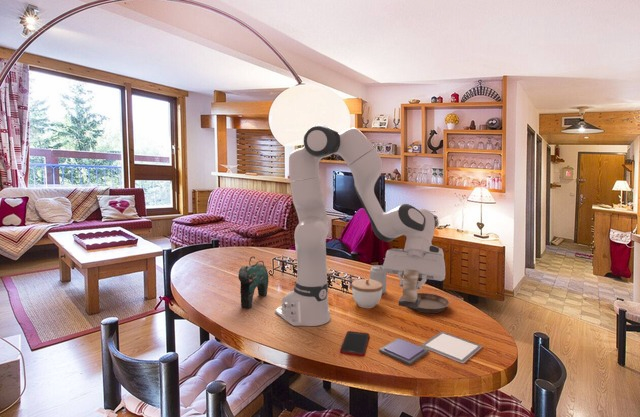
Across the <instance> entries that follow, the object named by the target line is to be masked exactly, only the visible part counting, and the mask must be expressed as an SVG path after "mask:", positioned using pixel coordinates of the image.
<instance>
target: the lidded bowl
mask: <svg viewBox="0 0 640 417" xmlns="http://www.w3.org/2000/svg"><path fill="white" fill-rule="evenodd" d="M351 287H352V288H351V293H352V297H353V298H352V299H353V300H354V302H355V303H356V304H357V306H359V307H360V308H363V309H372V308H375V307H376V305H377V304H379V302H380V301H381V298H382V295H383V294H382V288H383V285H382V283H380V282H378V281H375V280H370V278H362V279H356V280H353V281H352V283H351Z"/></svg>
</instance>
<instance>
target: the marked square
mask: <svg viewBox="0 0 640 417" xmlns="http://www.w3.org/2000/svg"><path fill="white" fill-rule="evenodd" d="M420 347H423V348H425V349H428V350H429V351H430V352H432V353H433V352H434V353H436V354H438V355H440V356H444V357H445V358H448V359H450V360H452V361H455V362H457V363H461V364H465V363H466V362H467V361H468V360H470V358H471V357H472V356H474V355H475V354H476V353H478V352H479V351H480V350H481V349H482V348H483V345H482V344H481V345H480V344H477V343H476V342H472V341H469V340H468V339H464V338H461V337H458V336H456V335H453V334H449V333H448V332H444V331H440V332H438V333H437V334H436V335H434V336H432V337H430V338H429V339H428V340H427V341H425V342H423V343H422V344H421V345H420Z"/></svg>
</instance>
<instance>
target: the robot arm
mask: <svg viewBox="0 0 640 417" xmlns="http://www.w3.org/2000/svg"><path fill="white" fill-rule="evenodd" d="M302 141H303V147H302V148H301V147H300V148H297V149H295V150H293V151H292V152H290V154H289V157H288V175H289V178H288V179H289V184H290V190H291V191H290V192H291V196H292V203H293V206H294V208H295V211H296V215H297V218H298V223H297V225H296V227H295V230H294V233H293V234H294V245H295V254H296V255H295V256H296V262H297V263H296V264H297V269H296V273H297V274H296V281H292V286H294V287H293V289H292V290H291V291H290V292H288V293H287V294H285V295H284V296H283V297H282V300H281V305H280V306H278V307H277V308H276V309H275V310H274V312H275V313H276V315H278V316H279V317H280V318H282V319H283V320H285V321H286V322H287V323H289V324H290V325H291V326H294V327H298V326H299V327H300V326H303V327H304V326H306V327H317V326H323V325H325V324H326V323H328V322H330V321H331V315H330V313H331V312H330V308H329V298H328V292H329V288H328V287H329V284H328V279H327V278H328V276H327V274H328V261H327V248H326V247H327V243H326V242H327V236H328V235H329V232H330V225H329V221H328V220H329V219H328V215H327V209H326V205H325V201H324V195H323V189H322V182H321V181H322V180H321V175H320V174H321V173H320V168H319V167H320V161H322V160H325V159H326V158H327V159H328V158H329V157H331V156H333V155H334V154H336V155H338V156H340V157H341V158H342V159H343V161H344V162H345V165H347V167H348V168H349V170H350V172H351V175H352V176H353V181H354V183H353V186H354V190H355V192H356V195H357V197H358V199H359V201H360V203H361V205H362V207H363V209H364V211H365V213H366V216H367V217H368V219H369V221H370V224H371V228H372V232H374V235H375V236H376V237H377V238H378V239H379V240H381V241H383V242H384V243H385V242H387V243H389V242H392V241H394V240H395V239H397V238H399V237H401V236H405V237H406V240H405V243H404V244H405V245H404V248H394V247H393V248H390V249H388V250H386V252H385V259H384V262H383V264H382V266H383V269H384V271H385V272H386V273H387V274H392V275H397V276H398V279H399V287H401V288H403V279H404V270H407V269H409V270H416V271H418V272H419V275H418V279H419V278H420V279H421V280H420V281H418V282H417V285H416V289H418V290H422V287H423V285H424V284H425V283H426V282H427V280H433V281H439V282H442V281H444V280H445V279H446V263H445V258H444V257H445V254H444V251H443V248H442V247H441V248H440V247H438V246H436V245H435V244H432V240H433V238H434V235H435V226H436V221H435V217H434V214H433V213H432V212H431V211H430V210H428V209H425V208H416V207H415V206H413V205H411V204H408V203H402V204H400V205H399V206H397V207H395V208H392V209H391V210H389V211H387V212H386V211H384V209H383V208H382V206H381V204H380V202H379V200H378V198H377V196H376V194H375V186H376V183H377V181H378V179H379V178H380V176H381V173H382V171H383V161H382V158H381V156H380V154H379V153H378V151H377V150H376V148H375V147H374V146H373V144H372V143H371V141H370V139H369V138H368V137H366V135H364V133H363V132H362V131H360V129H359V128H356V127H350V128H347V129H345V130H343V131H341V132H338V131H336V130H334V129H333V128H332V127H330V126H328V125H322V124H316V125H313V126H311V127H310V128H308V129H307V130H306V131H305V133H304V135H303V140H302ZM402 278H403V279H402Z"/></svg>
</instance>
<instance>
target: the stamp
mask: <svg viewBox="0 0 640 417" xmlns="http://www.w3.org/2000/svg"><path fill="white" fill-rule="evenodd" d="M418 275H419V272H418V271H416V270H409V269H407V270H404V275H403V279H402V280H403V287H402V296H401V297H400V299H398V306H399V307H406V308H411V309H412V308H415V309H417V308H418V306H419V304H420V302H421V298H417V293H419V292H418V291H419V289H416V285H417V282H419V278H418Z"/></svg>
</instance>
